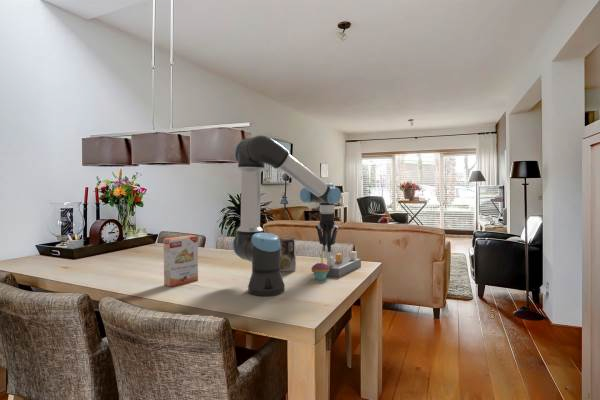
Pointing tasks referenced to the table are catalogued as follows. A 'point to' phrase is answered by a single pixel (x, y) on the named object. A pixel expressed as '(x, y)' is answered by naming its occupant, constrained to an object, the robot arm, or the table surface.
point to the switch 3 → (353, 255)
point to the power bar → (344, 267)
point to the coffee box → (287, 254)
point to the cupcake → (320, 270)
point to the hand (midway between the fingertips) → (327, 257)
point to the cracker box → (180, 260)
